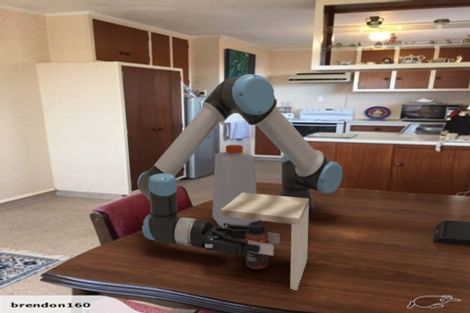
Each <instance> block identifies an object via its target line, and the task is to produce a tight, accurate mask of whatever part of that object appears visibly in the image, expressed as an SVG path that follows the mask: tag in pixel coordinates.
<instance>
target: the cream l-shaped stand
mask: <svg viewBox="0 0 470 313" xmlns="http://www.w3.org/2000/svg"><path fill="white" fill-rule="evenodd" d="M308 212H309V199H307V198H297V197H286V196H279V195H275V194H261V193H257V194H253V193H241V194H240V195H239V196H237V197H236V198H235V199H234V200H232V201H231V202H230V203H229V204H227V205H226V206H225V207H224V208H222V209H221V216H229V217H237V218H246V219H254V220H258V221H261V222H262V221H264V222H272V223H279V224H287V225H291V230H290V232H291V239H290V240H291V242H290V279H289V280H290V283H289V284H290V286H289V287H290V288H289V289H293V290H292V291H295V290H297V291H298V290H299V287H298V286H300V284H301V281H300V280H302V277H303V273H304V270H305V267H306V265H307V261H308V243H309V242H308V240H309V239H308V237H309V213H310V212H309V213H308ZM299 283H300V284H299Z"/></svg>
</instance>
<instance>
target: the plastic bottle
mask: <svg viewBox="0 0 470 313" xmlns="http://www.w3.org/2000/svg"><path fill="white" fill-rule="evenodd" d="M255 163H256V162H255V157H254V155H253V154H251V153H249V152H246V151H244V146H243V145H242V144H228V145H226V146H225V151H220V152H218V153H216V154H215V158H214V177H213V178H214V179H213V182H214V183H213V195H212V197H213V198H212V218H213V220H214V221H215V222H216V224H217V225H218V226H221V227H223V224H224V223H228V224H232V225H242V226H249V223H251V222H256V221H257V222H259V220H254V219H246V218H237V217H229V216H221V209H222V208H224V207H225V206H226V205H227V204H229V203H230V202H231V201H232V200H234V199H235V198H236V197H237V196H239V195H240V194H241V193H253V194H258V193H257V191H258V190H257V180H256V165H255Z"/></svg>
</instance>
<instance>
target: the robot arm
mask: <svg viewBox="0 0 470 313" xmlns="http://www.w3.org/2000/svg"><path fill="white" fill-rule="evenodd" d="M277 105H278V101H277V99H276V96H275V89H274V87H273V85H272V83H271V82H270V81H269V79H267V78H266V77H264V76H262V75H259V74H251V73H249V74H243V75H241V76H232V77H231V76H230V77H228V78H226V79H224V80H223V81H221V82H220V83H219V84H218V85H217V86H216V87H215V88H214V89H213V90H212V91H211V93H210V94H209V95H208V96H207V97H206V99H204V101H203V102H202V103H201V109H200V110H199V112H198V113H196V115H195V116H194V117H193V119H192V120H191V121H190V122H189V123H188V124H187V126H186V127H185V128H184V129H183V130H182V132H181V133H180V134H179V135H178V136H177V137H176V139H175V140H174V141H173V142H172V143H171V144H170V146H169V147H168V148H167V149H166V150H165V152H164V153H162V155H161V156H160V157H159V158H158V160H157V161H156V162H155V163H154V165H153V166H151V167H150V169H149V170H147V171H144V172H142V173H141V174H140V175H139V177H138V179H137V187H138V190H139V192H140V193H141V194H142V195H143V196H145V197H146V199H148V201H149V205H150V207H149V209H150V214H147V215H146V216H145V218H144V220H143V222H142V223H143V225H142V227H141V228H142V229H141V230H142V234H143V236H144V237H145V238H146V239H148V240H151V241H155V242H158V243H159V242H160V243H161V242H162V243H169V244H176V245H180V246H181V245H183V246H185V247H188V246H189V247H194V248H199V249H205V251H210V252H211V251H214V252H220V253H224V254H228V255H234V256H238V257H239V256H240V257H241V256H242V255H243V256H245V257H246V255H247V251H248V252H253V253H259V254H266V255H268V256H274V253H275V252H274V250H275V248H274V247H275V246H274V245H280V239H281V237H280V236H281V235H280V234H281V233H279V232H271V231H270V232H269V231H266V232H267V233H268V243H263V242H256V241H249V240H248V244H247V242H246V241H245V235H246V232H247V231H248V230H249V226H242V225H232V224H228V223H224V224H223V227H221V226H219V225H218V226H213V225H212V222H211V221H210V220H207V219H198V218H197V219H196V218H192V217H183V216H182V217H181V216H178V194H177V189H178V185H177V180H176V175H178V173H179V172H180V171H181V169H182V168H183V167H185V165H186V164H187V162H188V161H189V160H190V159H191V157H193V155H194V154H195V153H196V152H197V150H198V149H199V148H200V147H201V145H202V144H204V142H205V141H206V140H207V138H208V137H209V136H210V135H211V133H212V132H213V131H214V130H215V129H216V127H218V125H219V124H220V123H224V122H226V120H227V119H228V118H229V117H230V116H232V115H233V114H238V115H239V116H241V118H242V119H243V120H244V121H246V123H247V124H248V125H250V126H256V127H257V128H259V130H261V132H262V133H264V135H265V136H266V137H267V138H268V139H269V141H271V142H272V143H273V144H274V145H275V146H276V147H277V149H278V150H280V151H281V153H282V154H283V155H282V157H281V158H282V159H281V190H280V193H279V195H278V196H286V197H297V198H307V199H309V212H308V214H309V213H312V212H314V210H315V201H314V197H313V195H312V191H311V190H314V191H317V192H318V193H321V194H327V195H328V194H330V193H331V194H332V193H333V192H335V191H336V190H337V189H338V188H339V186H340V185H341V182H342V178H343V168H342V165H341V164H339V163H338V162H336V161H332V160H330V159H328V158H327V157H326V156H325V154H324V153H323V151H321V150H318V149H314V148H313V147H312V146H311V145H310V144H309V143H308V141H307V140H306V139H305V138H304V136H302V135H301V134H300V132H299V131H298V130H297V129H296V128H295V127H294V125H293V124H292V123H291V121H289V120H288V118H287V117H286V116H285V115H284V113H282V112H281V111H280V110H279V108H278V106H277Z"/></svg>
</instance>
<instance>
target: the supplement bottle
mask: <svg viewBox="0 0 470 313" xmlns="http://www.w3.org/2000/svg"><path fill="white" fill-rule="evenodd" d="M267 232H268V231H266V230H265V223H264V222H262V221H258V222H257V221H256V222H251V223H249V230H248V231H247V232H246V235H245V239H244V241H245V242H247V244H248V240H249V241H256V242H263V243H268V233H267ZM245 264H246V267H248V268H249V269H252V270H263V269H265V268H267V267H268V265H269V255H266V254H259V253H253V252H248V251H247V255H245Z"/></svg>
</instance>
